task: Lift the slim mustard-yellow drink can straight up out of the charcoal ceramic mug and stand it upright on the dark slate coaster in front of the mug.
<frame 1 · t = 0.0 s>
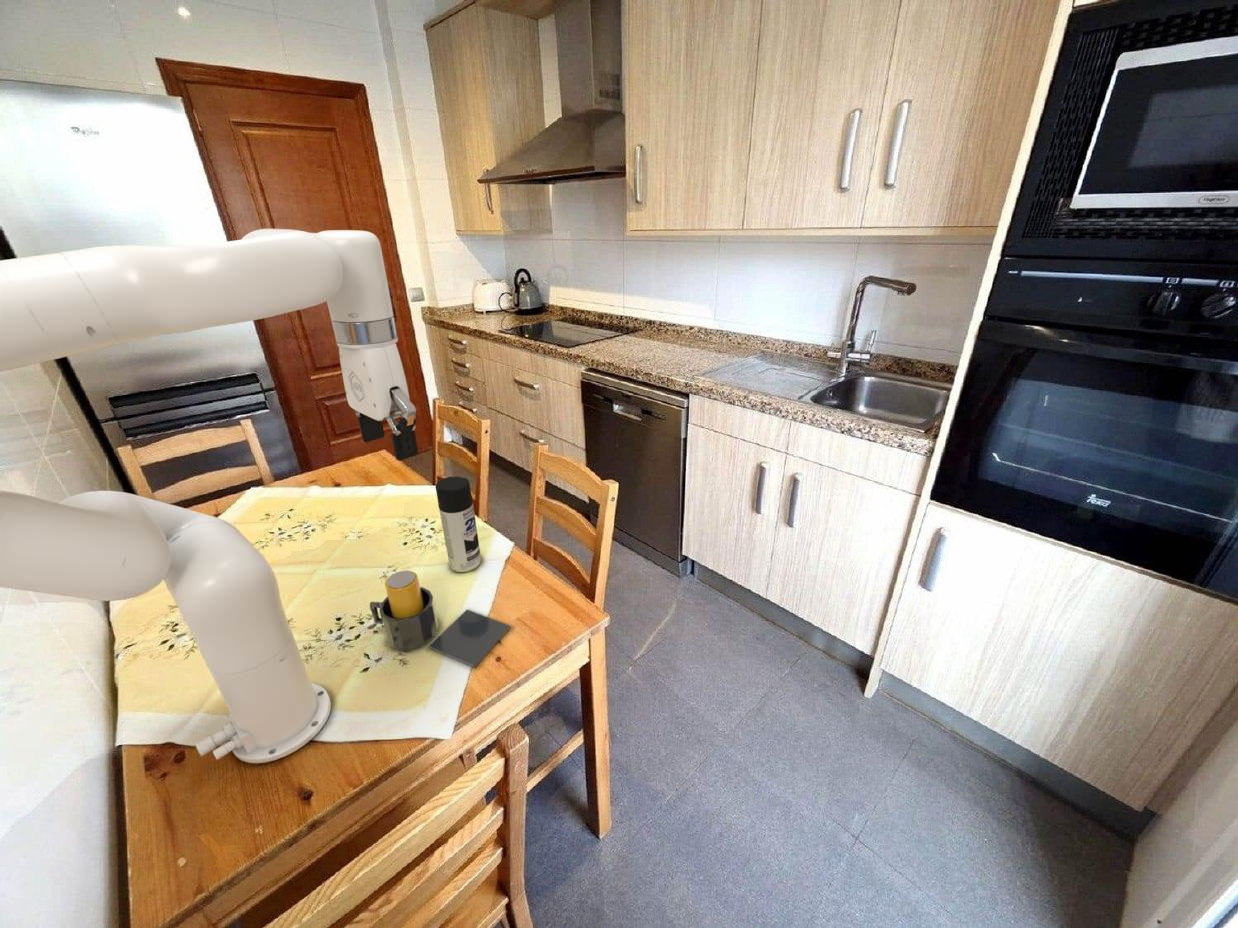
hand: (390, 447, 75), 37 cm above the table, tool pointing down, fingers open, 9 cm apart
mug: (413, 632, 91), on the table
can: (412, 630, 91), point 1 cm above the table, touching mug
coaster: (471, 638, 90), on the table
spray can: (465, 564, 109), on the table
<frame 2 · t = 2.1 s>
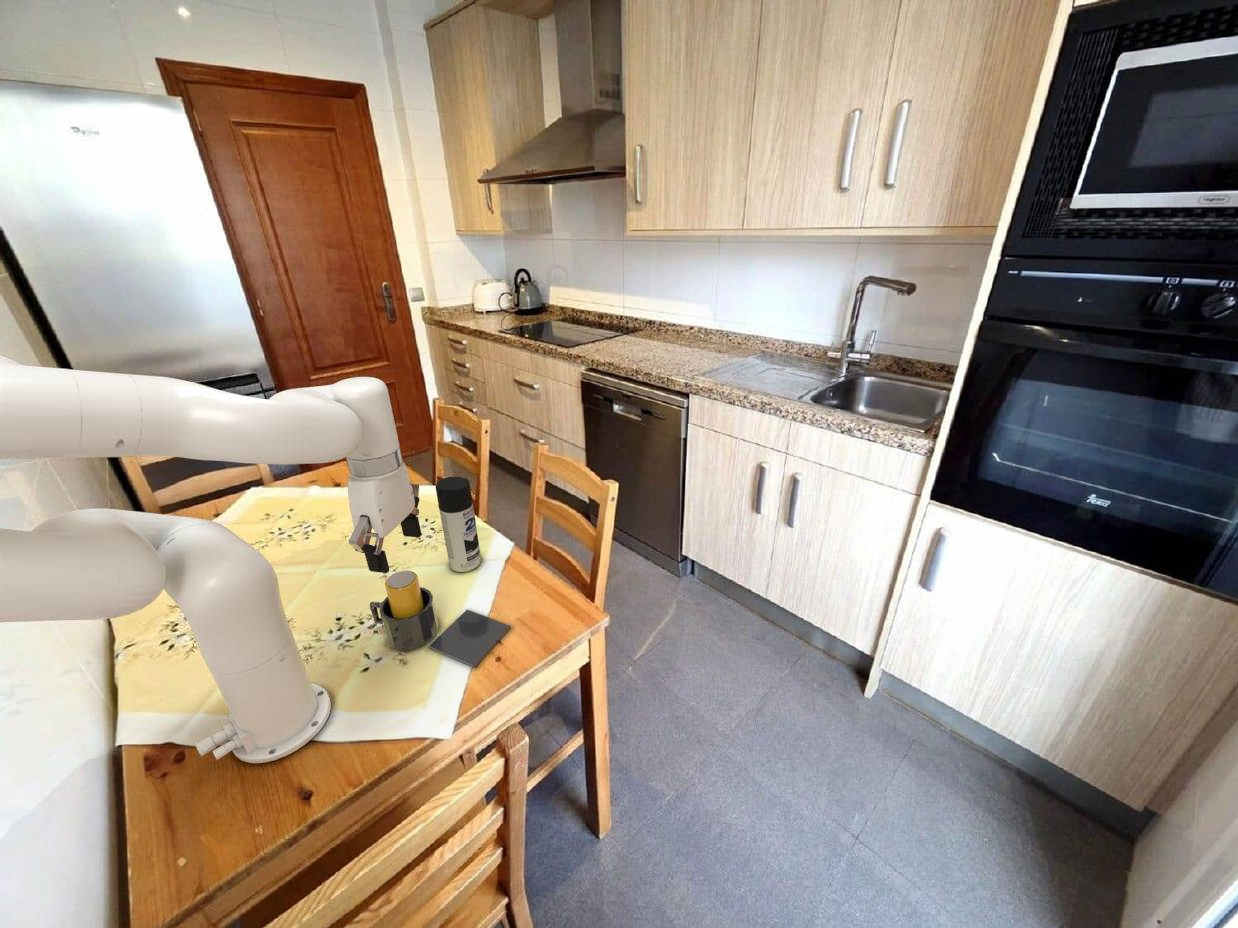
hand: (397, 552, 83), 18 cm above the table, tool pointing down, fingers open, 9 cm apart
nothing on the table moved.
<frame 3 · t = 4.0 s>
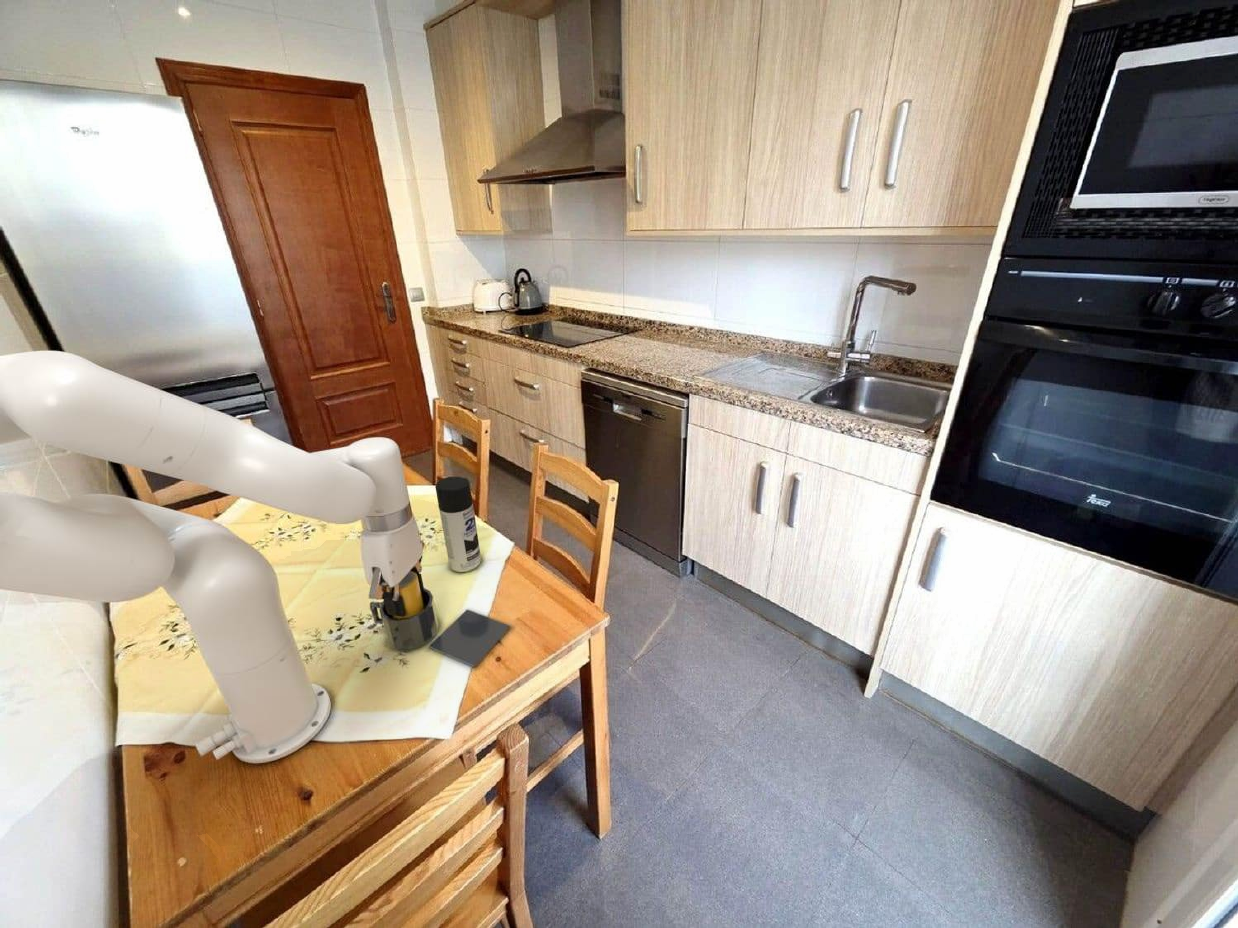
hand: (406, 601, 88), 7 cm above the table, tool pointing down, fingers closed on can, 5 cm apart
can: (412, 630, 91), point 1 cm above the table, touching gripper, mug
everything else where it was.
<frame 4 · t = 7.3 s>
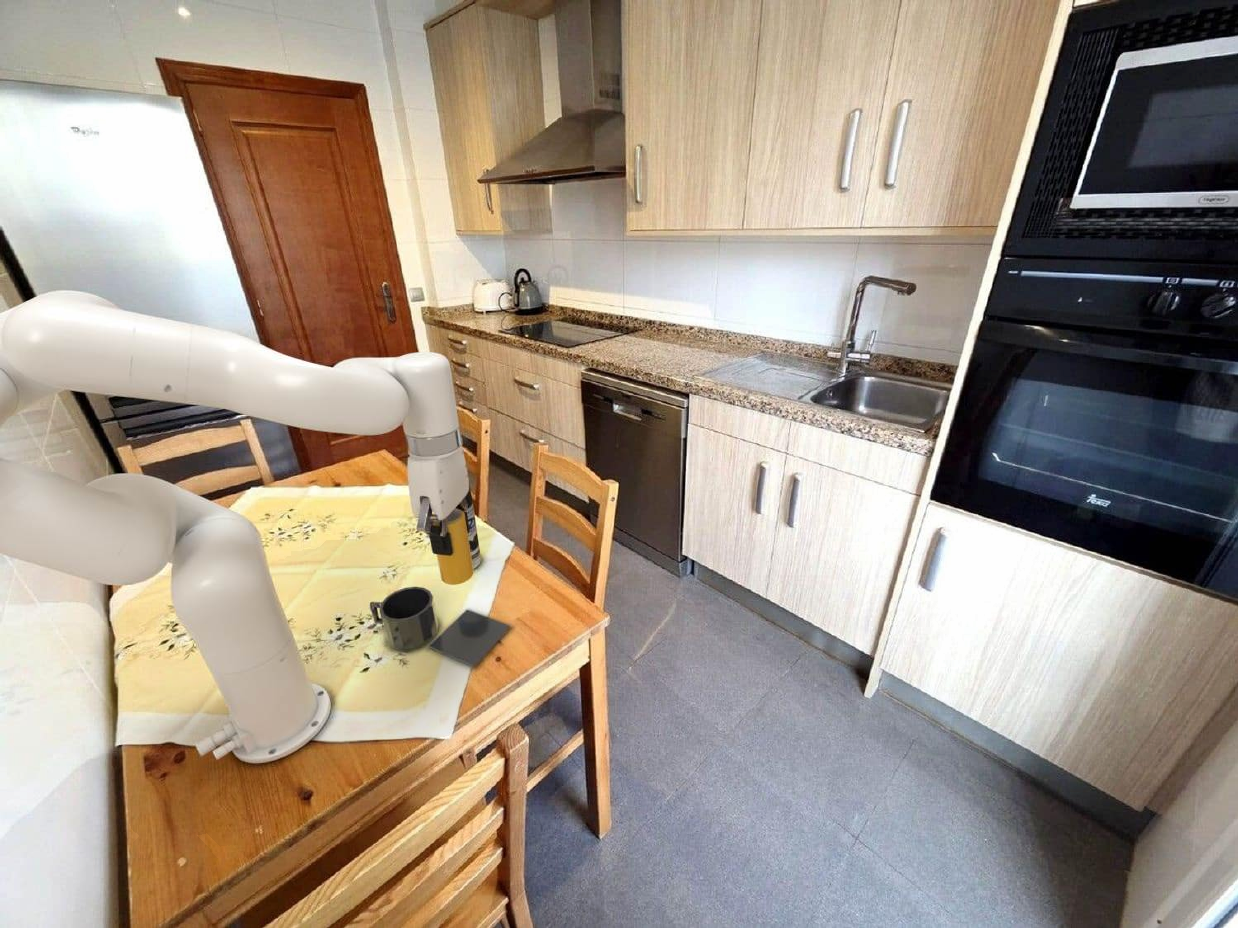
hand: (451, 541, 81), 21 cm above the table, tool pointing down, fingers closed on can, 5 cm apart
can: (457, 574, 84), point 14 cm above the table, touching gripper
everything else where it was.
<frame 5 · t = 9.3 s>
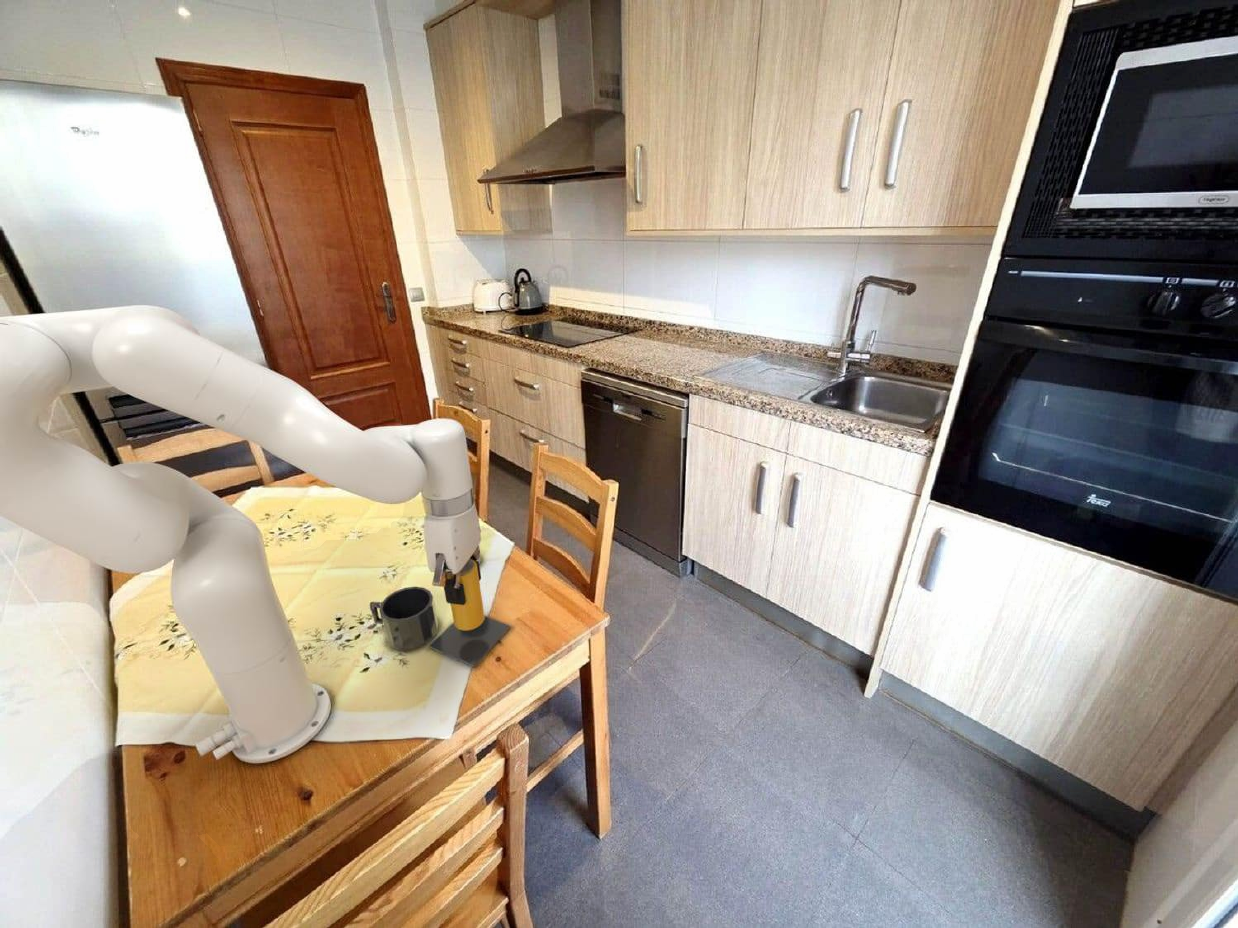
hand: (464, 589, 85), 11 cm above the table, tool pointing down, fingers closed on can, 5 cm apart
can: (469, 619, 88), point 4 cm above the table, touching gripper
everything else where it was.
when the fingers open (7 cm above the table, at t = 10.7 s): can stays where it is, resting on coaster.
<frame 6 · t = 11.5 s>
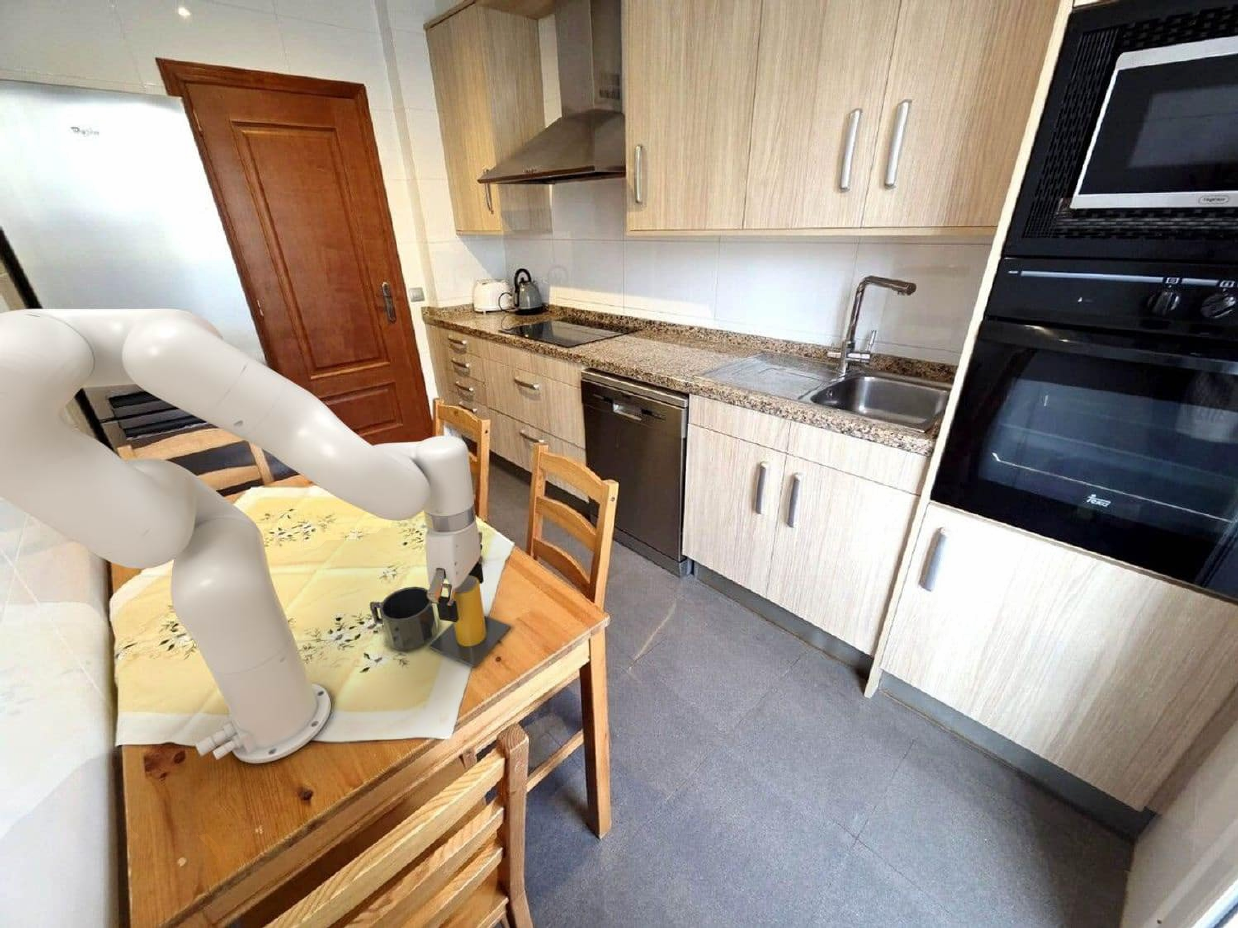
hand: (462, 599, 86), 9 cm above the table, tool pointing down, fingers open, 9 cm apart
can: (471, 635, 90), point 1 cm above the table, touching coaster
everything else where it was.
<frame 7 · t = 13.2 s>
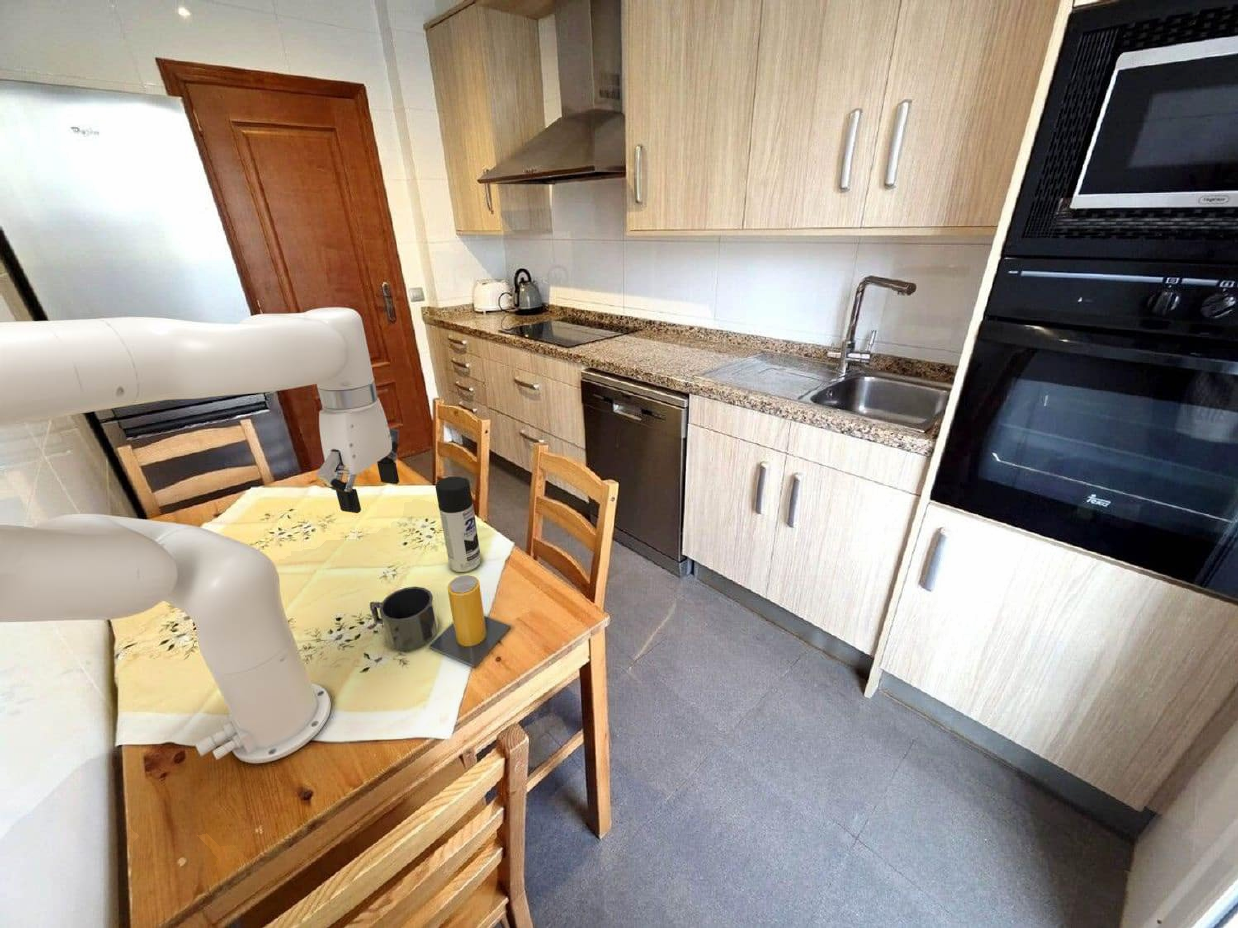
hand: (371, 496, 82), 27 cm above the table, tool pointing down, fingers open, 9 cm apart
nothing on the table moved.
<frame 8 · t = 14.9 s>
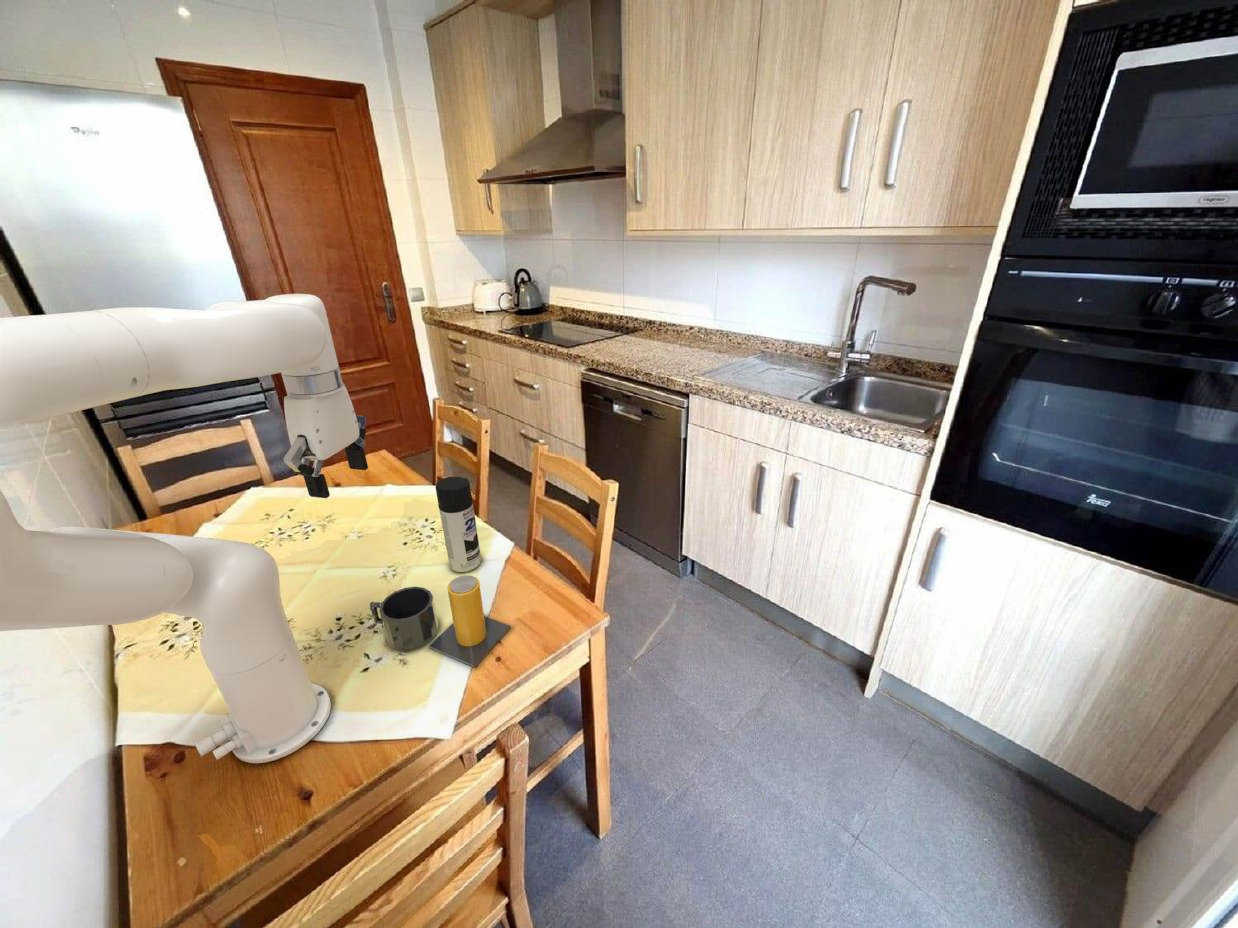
hand: (340, 482, 83), 28 cm above the table, tool pointing down, fingers open, 9 cm apart
nothing on the table moved.
at the end: can 0.1 cm off-centre on the coaster, point 0.6 cm above the coaster's base; can tilted 0°; the gripper is holding nothing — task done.
